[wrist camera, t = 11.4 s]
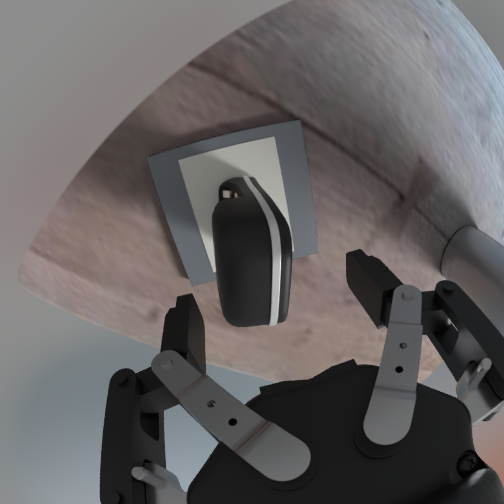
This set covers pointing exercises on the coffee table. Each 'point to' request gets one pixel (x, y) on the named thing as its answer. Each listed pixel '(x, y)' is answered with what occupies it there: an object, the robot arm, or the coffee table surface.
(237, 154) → the pad
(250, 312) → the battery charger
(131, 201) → the coffee table surface
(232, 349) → the coffee table surface
